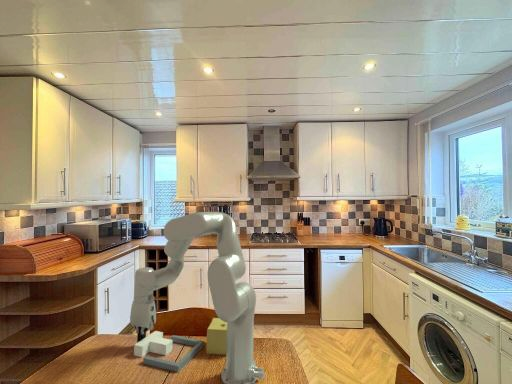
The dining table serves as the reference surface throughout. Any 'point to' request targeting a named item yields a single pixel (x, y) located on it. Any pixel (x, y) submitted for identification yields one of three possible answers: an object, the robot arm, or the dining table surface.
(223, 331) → the cheese
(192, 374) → the dining table surface
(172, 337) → the frame
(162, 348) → the t block
